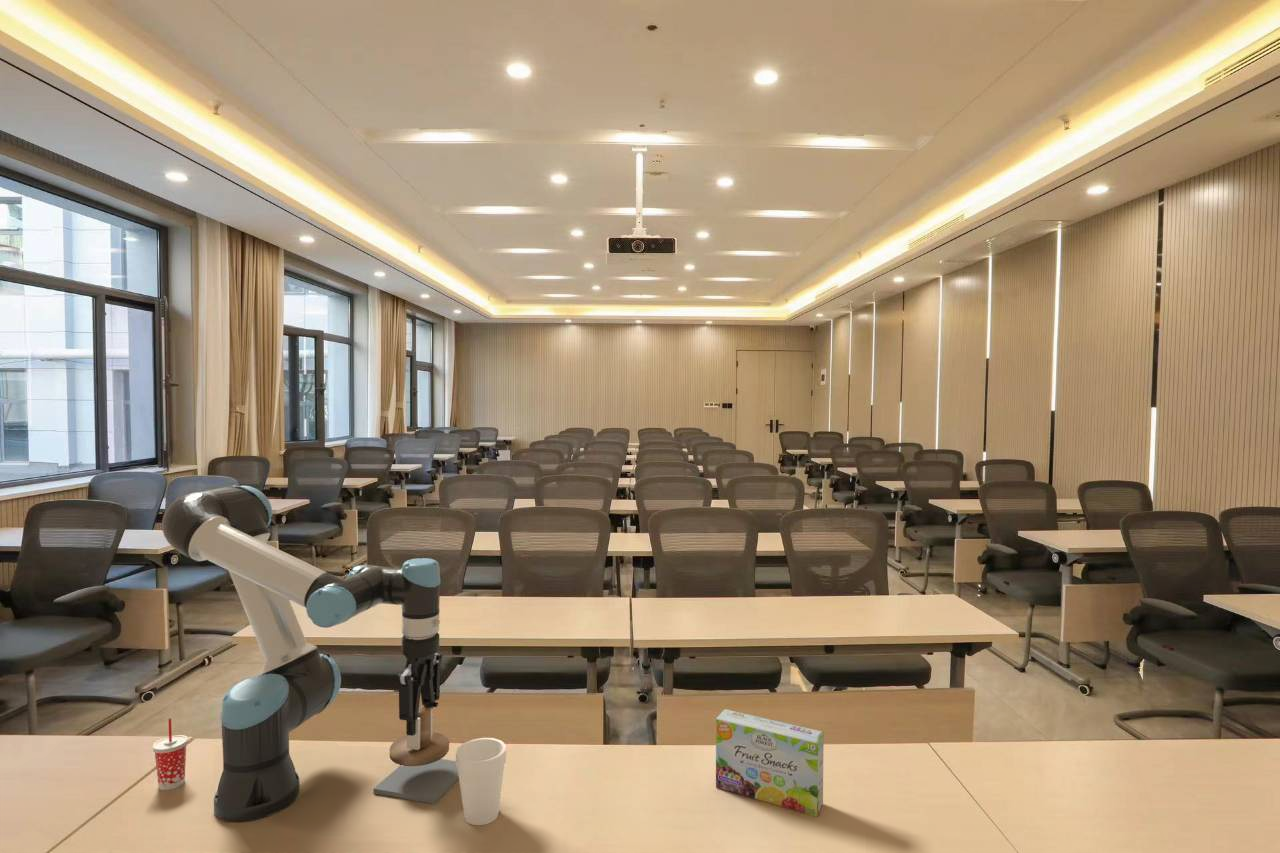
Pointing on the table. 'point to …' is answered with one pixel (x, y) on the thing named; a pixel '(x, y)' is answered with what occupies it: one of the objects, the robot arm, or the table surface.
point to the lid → (428, 747)
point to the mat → (420, 781)
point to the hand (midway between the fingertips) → (419, 742)
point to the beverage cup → (170, 760)
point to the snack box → (770, 761)
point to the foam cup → (481, 778)
